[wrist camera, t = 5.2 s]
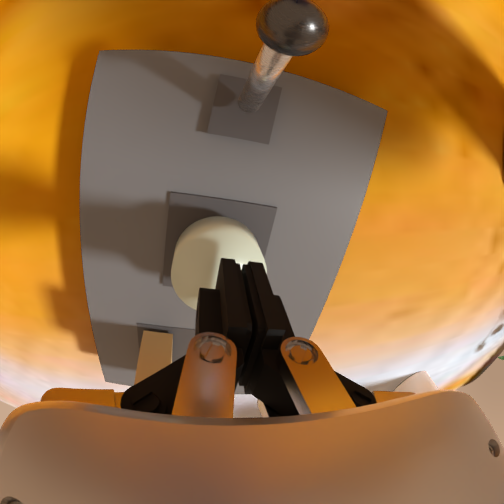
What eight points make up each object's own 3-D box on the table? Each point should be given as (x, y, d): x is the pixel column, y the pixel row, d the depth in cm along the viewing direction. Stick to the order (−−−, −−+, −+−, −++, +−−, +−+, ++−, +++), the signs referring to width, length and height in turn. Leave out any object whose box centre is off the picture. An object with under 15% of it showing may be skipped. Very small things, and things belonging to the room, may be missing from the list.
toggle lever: (230, 81, 10) (270, -24, 4) (273, 91, 11) (338, -1, 5) (222, 118, 10) (263, 13, 4) (268, 127, 11) (343, 39, 5)
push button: (179, 210, 13) (175, 226, 11) (267, 223, 14) (277, 239, 12) (171, 287, 15) (168, 310, 13) (249, 294, 16) (255, 317, 14)
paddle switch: (143, 330, 17) (133, 391, 12) (172, 333, 17) (169, 395, 13) (146, 374, 19) (141, 429, 14) (171, 377, 19) (170, 432, 15)
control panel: (116, 60, 12) (96, 48, 9) (361, 109, 15) (392, 111, 12) (111, 357, 22) (104, 385, 19) (275, 369, 25) (283, 397, 22)
